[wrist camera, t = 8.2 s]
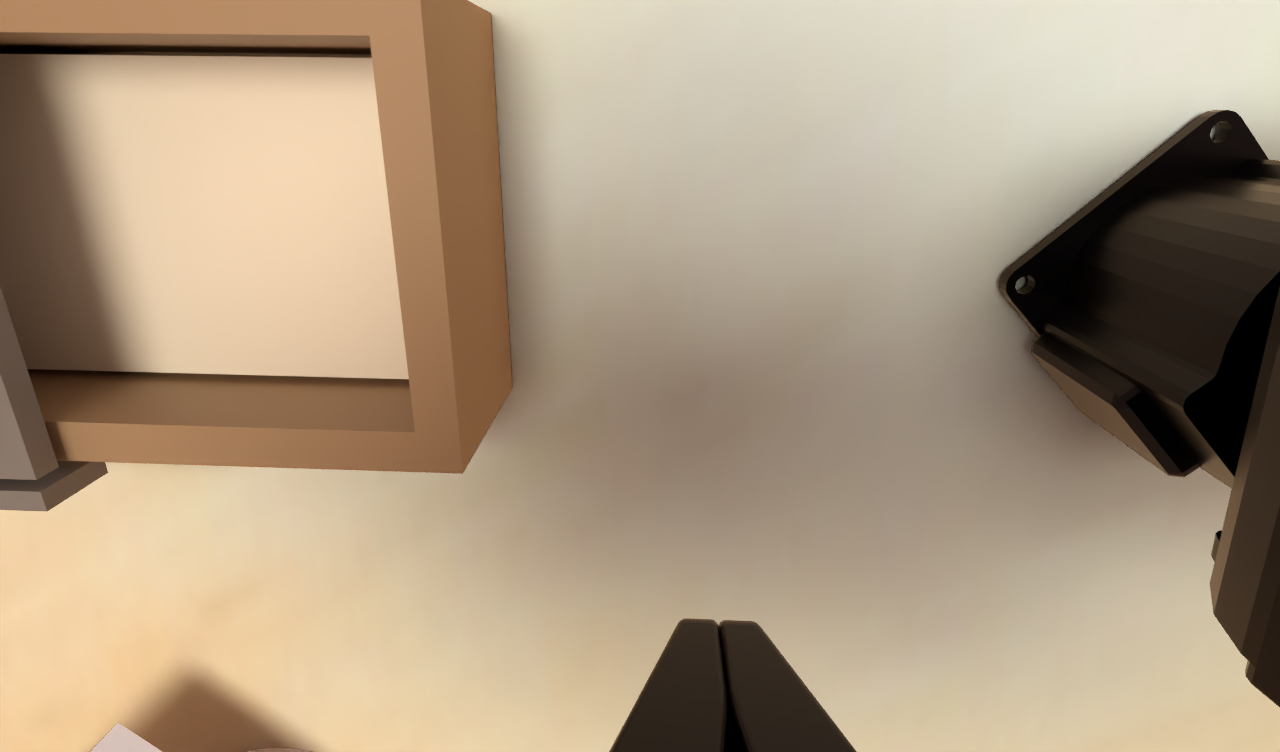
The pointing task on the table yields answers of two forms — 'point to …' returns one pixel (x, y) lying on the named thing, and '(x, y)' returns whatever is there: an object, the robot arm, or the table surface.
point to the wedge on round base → (145, 743)
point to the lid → (30, 438)
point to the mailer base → (422, 233)
